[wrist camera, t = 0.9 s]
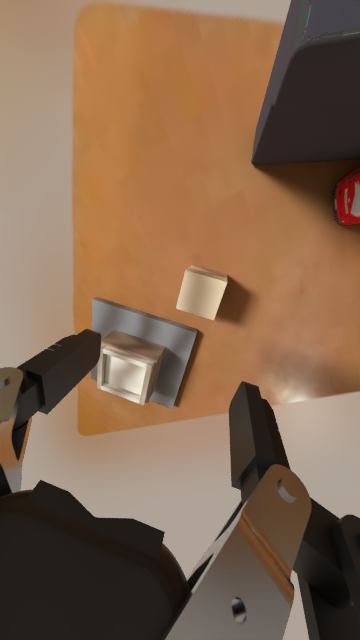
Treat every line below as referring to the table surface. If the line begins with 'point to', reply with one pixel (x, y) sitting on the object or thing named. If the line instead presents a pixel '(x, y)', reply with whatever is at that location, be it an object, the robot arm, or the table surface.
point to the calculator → (313, 87)
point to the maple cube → (201, 291)
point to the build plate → (152, 333)
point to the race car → (348, 199)
